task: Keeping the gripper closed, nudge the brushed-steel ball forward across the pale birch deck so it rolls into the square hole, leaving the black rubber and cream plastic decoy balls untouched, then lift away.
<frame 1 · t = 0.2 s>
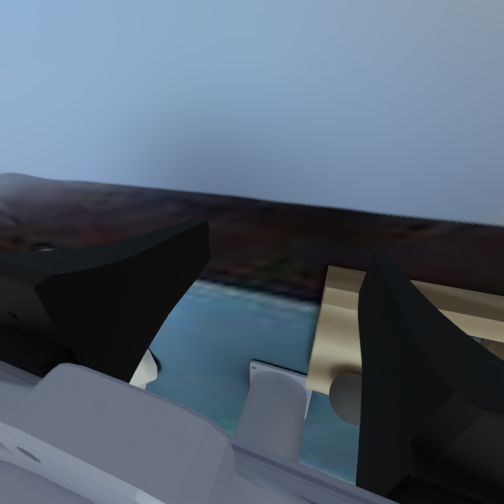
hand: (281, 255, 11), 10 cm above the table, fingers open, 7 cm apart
figurine: (115, 341, 43), on the table
black rubber ball: (352, 397, 23), point 5 cm above the table, touching deck
deck: (441, 350, 23), on the table
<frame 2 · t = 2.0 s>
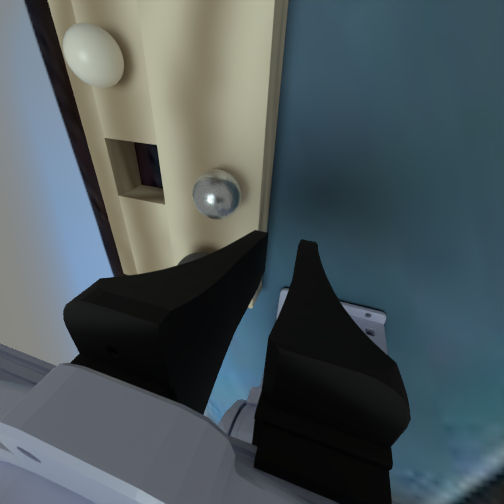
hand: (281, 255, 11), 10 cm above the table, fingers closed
steel ball: (217, 195, 17), point 5 cm above the table, touching deck
black rubber ball: (199, 277, 21), point 5 cm above the table, touching deck
deck: (190, 168, 22), on the table
cream plastic ball: (94, 57, 15), point 4 cm above the table, touching deck
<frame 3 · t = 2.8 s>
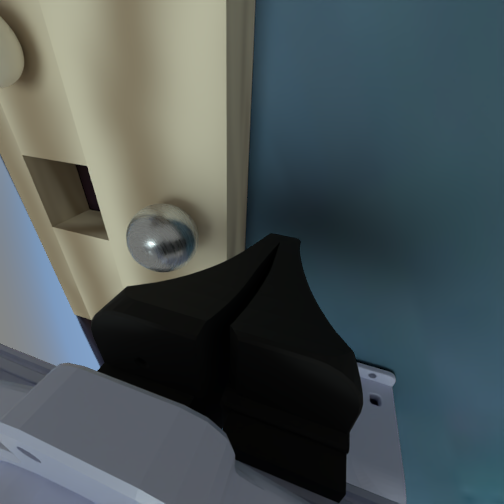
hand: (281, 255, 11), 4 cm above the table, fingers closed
steel ball: (163, 238, 12), point 5 cm above the table, touching deck
deck: (144, 191, 17), on the table
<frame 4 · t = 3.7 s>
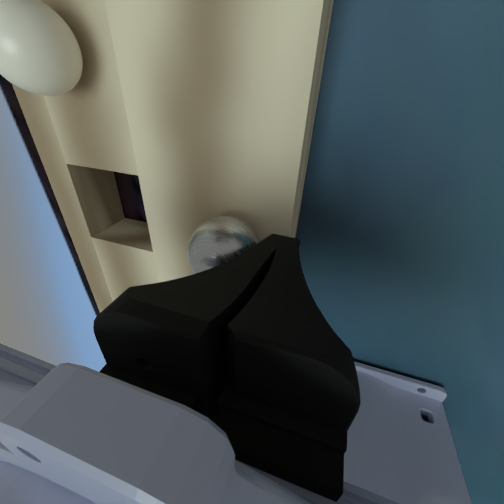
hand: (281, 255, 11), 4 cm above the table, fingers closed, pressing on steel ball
steel ball: (224, 252, 11), point 5 cm above the table, touching deck, gripper
deck: (187, 199, 16), on the table
cream plastic ball: (33, 48, 9), point 4 cm above the table, touching deck
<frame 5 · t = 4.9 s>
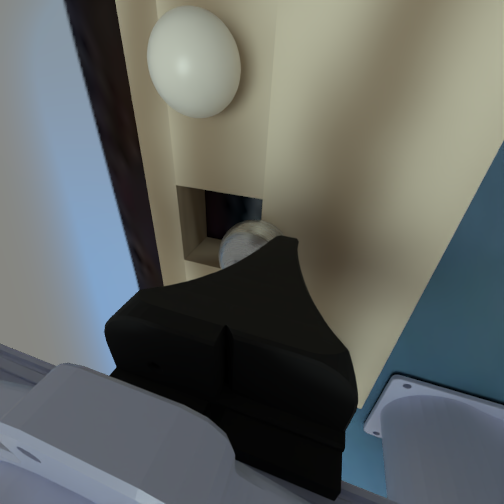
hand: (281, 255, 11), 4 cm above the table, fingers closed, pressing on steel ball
steel ball: (254, 255, 12), point 5 cm above the table, tilted 172°, touching deck, gripper
deck: (286, 220, 15), on the table
cream plastic ball: (195, 67, 9), point 4 cm above the table, touching deck
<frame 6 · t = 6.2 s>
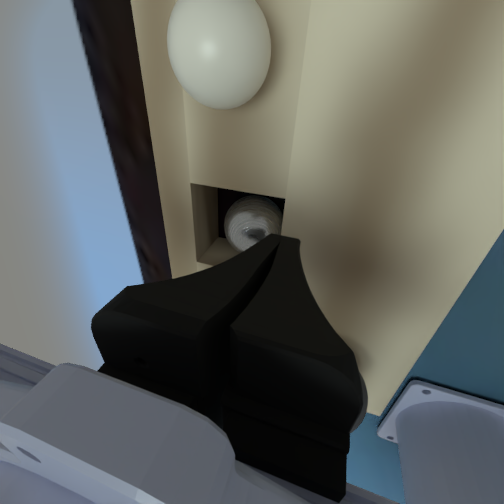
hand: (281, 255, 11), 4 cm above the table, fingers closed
steel ball: (254, 225, 14), point 2 cm above the table, tilted 16°
deck: (304, 220, 14), on the table
cream plastic ball: (220, 51, 8), point 4 cm above the table, touching deck
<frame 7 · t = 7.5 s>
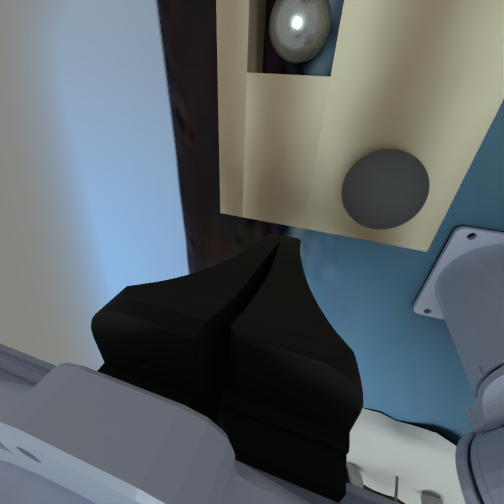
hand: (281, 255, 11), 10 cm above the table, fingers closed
steel ball: (299, 25, 14), point 2 cm above the table
figurine: (397, 449, 34), on the table
black rubber ball: (382, 190, 13), point 5 cm above the table, touching deck
deck: (356, 29, 14), on the table
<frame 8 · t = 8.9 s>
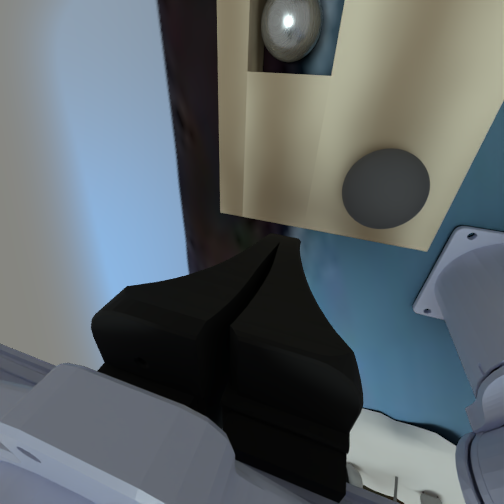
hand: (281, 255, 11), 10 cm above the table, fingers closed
steel ball: (291, 24, 14), point 2 cm above the table, tilted 18°
figurine: (396, 449, 34), on the table
black rubber ball: (382, 190, 13), point 5 cm above the table, touching deck
deck: (357, 28, 14), on the table
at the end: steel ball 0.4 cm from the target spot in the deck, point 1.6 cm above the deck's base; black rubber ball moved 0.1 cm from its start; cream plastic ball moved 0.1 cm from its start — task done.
